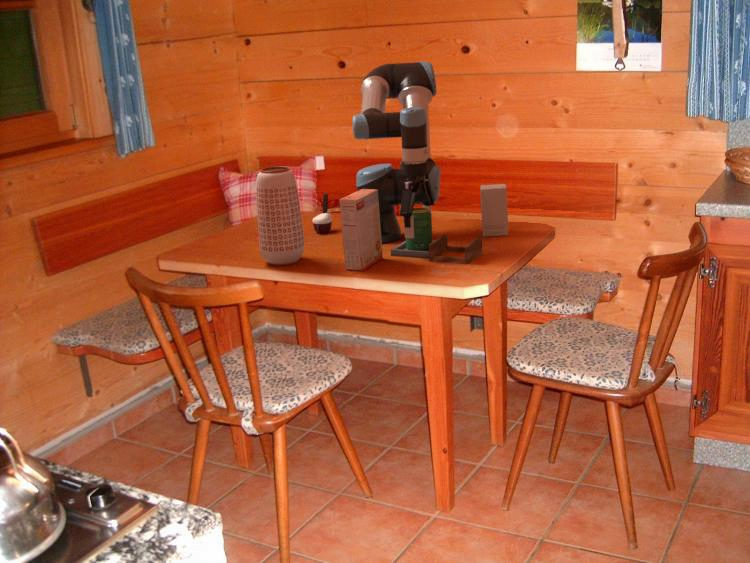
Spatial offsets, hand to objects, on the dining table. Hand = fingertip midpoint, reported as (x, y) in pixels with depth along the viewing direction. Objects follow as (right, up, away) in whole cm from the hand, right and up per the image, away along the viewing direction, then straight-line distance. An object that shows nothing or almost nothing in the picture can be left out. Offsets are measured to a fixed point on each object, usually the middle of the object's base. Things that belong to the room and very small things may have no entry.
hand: (418, 232), depth 258 cm
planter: (-40, -9, 0) cm, 41 cm away
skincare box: (+25, 0, +16) cm, 30 cm away
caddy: (+11, -8, -7) cm, 15 cm away
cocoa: (-30, +2, +32) cm, 44 cm away
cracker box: (-16, -10, -8) cm, 20 cm away
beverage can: (0, -5, +2) cm, 6 cm away
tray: (0, -6, +2) cm, 6 cm away
